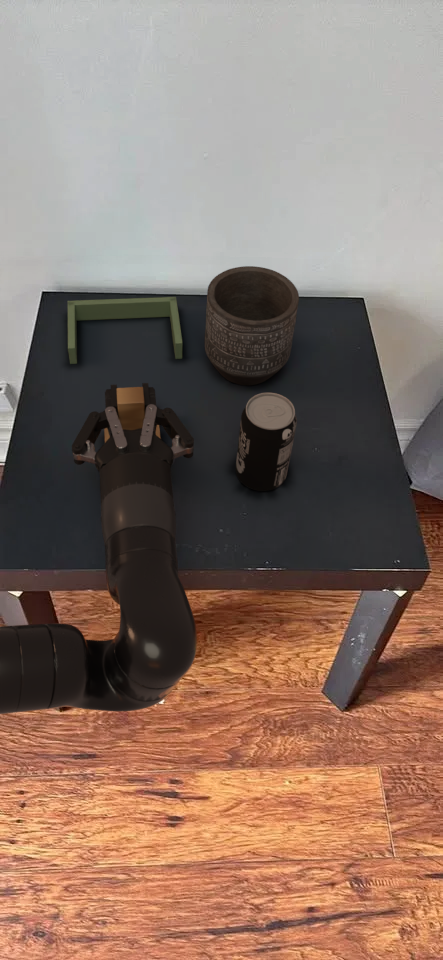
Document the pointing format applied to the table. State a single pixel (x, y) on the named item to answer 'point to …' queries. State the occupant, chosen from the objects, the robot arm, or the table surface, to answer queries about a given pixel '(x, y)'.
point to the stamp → (131, 409)
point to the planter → (250, 323)
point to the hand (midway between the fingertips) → (129, 389)
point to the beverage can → (265, 441)
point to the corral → (122, 316)
